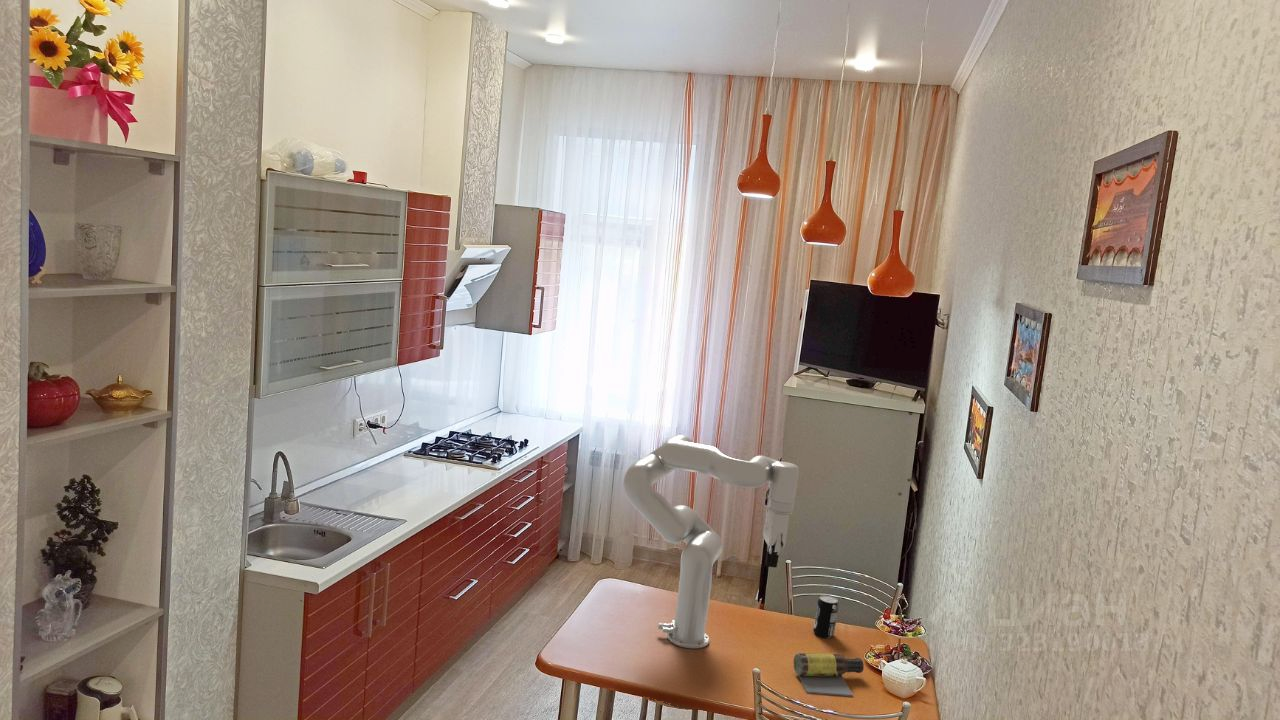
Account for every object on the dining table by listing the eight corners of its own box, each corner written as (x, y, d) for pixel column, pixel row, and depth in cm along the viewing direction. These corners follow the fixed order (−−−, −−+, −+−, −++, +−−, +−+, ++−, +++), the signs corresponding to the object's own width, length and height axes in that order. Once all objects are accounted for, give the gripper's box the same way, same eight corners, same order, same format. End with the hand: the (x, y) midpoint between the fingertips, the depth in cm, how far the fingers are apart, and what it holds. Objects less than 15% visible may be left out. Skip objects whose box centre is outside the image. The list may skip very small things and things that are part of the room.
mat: (806, 692, 253) (806, 691, 253) (794, 666, 268) (794, 665, 268) (852, 696, 254) (852, 694, 254) (837, 670, 269) (838, 668, 269)
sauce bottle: (800, 678, 259) (865, 680, 263) (801, 655, 259) (867, 658, 263) (791, 671, 265) (855, 673, 269) (793, 649, 265) (857, 651, 269)
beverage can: (810, 629, 296) (815, 593, 294) (830, 630, 297) (835, 595, 295) (815, 638, 290) (821, 602, 288) (836, 639, 290) (841, 603, 288)
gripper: (762, 496, 271) (753, 555, 274) (772, 512, 257) (762, 574, 259) (787, 498, 272) (778, 557, 275) (798, 515, 257) (788, 577, 260)
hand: (770, 565), depth 267 cm, fingers closed
